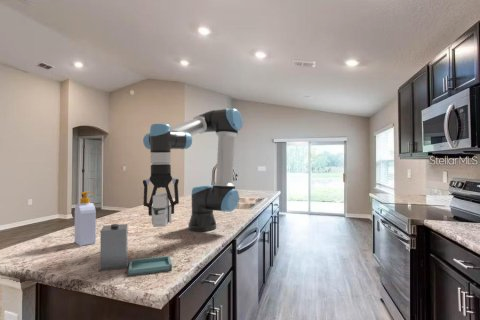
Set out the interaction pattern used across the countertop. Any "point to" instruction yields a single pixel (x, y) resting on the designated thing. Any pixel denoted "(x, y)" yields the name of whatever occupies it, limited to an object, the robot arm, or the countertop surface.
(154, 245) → the countertop surface
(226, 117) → the robot arm
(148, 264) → the tray
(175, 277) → the countertop surface
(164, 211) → the ink box
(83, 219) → the soap bottle
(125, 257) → the unit
